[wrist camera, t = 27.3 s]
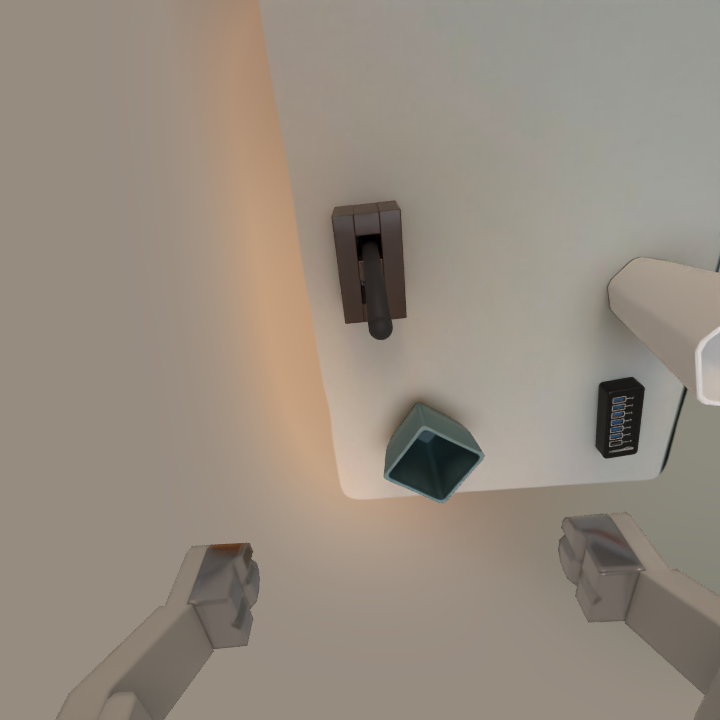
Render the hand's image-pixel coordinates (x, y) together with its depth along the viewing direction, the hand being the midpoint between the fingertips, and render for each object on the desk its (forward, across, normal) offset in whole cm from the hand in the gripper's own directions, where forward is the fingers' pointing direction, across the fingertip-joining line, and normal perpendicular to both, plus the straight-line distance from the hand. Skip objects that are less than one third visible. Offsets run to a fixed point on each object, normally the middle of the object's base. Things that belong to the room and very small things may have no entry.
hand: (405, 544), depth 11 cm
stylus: (+40, 0, 0) cm, 40 cm away
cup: (+40, -30, +9) cm, 51 cm away
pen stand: (+40, 0, +2) cm, 40 cm away
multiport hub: (+40, -31, +27) cm, 57 cm away
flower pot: (+40, -5, +25) cm, 47 cm away
